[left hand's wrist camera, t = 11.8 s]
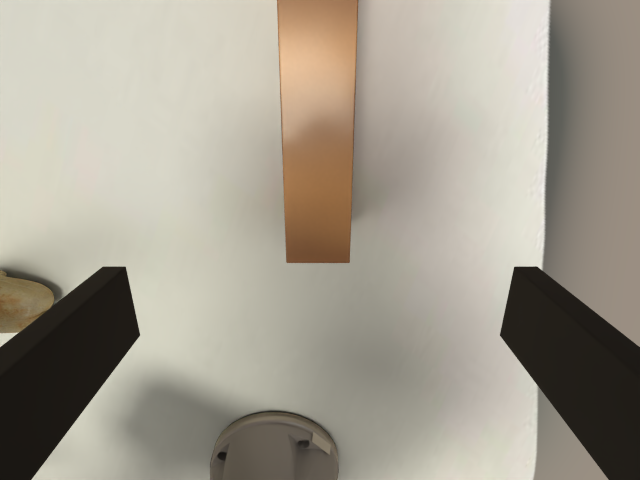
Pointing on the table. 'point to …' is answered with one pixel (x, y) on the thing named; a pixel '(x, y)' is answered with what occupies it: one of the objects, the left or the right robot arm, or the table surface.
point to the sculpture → (21, 302)
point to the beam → (317, 126)
